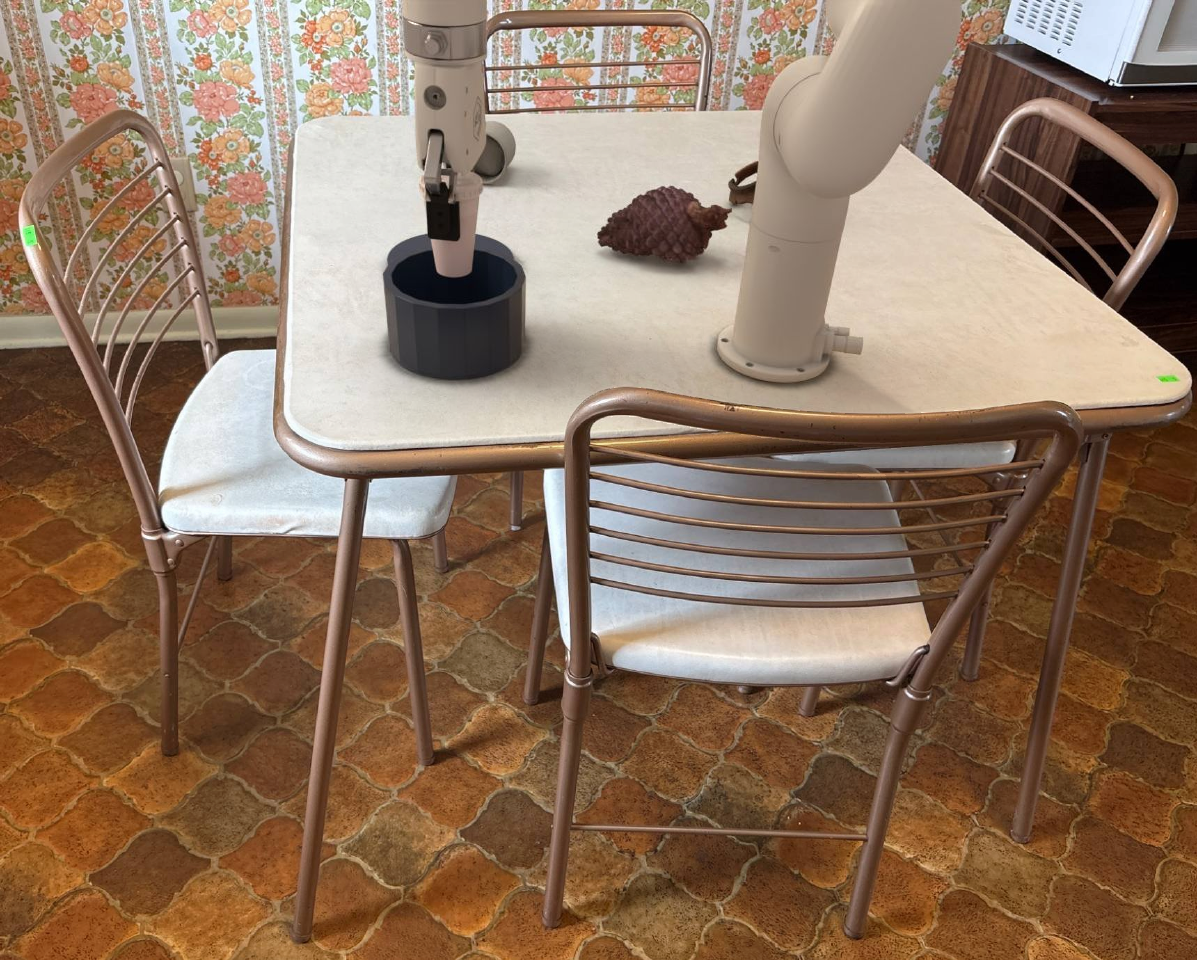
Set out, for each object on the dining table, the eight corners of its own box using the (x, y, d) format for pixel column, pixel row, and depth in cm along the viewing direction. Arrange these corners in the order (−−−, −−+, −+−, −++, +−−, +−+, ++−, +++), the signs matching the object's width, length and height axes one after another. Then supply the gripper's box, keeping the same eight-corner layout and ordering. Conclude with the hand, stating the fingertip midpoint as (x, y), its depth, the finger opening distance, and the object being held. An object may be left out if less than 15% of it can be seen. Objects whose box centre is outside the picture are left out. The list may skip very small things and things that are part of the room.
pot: (534, 319, 115) (535, 251, 110) (511, 387, 103) (510, 315, 98) (409, 306, 116) (404, 238, 111) (372, 373, 104) (365, 300, 99)
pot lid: (523, 245, 131) (524, 201, 127) (501, 301, 118) (500, 253, 114) (406, 234, 132) (403, 189, 128) (371, 288, 119) (367, 240, 115)
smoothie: (474, 287, 101) (470, 151, 93) (414, 278, 102) (405, 142, 93) (492, 260, 106) (490, 129, 98) (435, 252, 107) (428, 122, 98)
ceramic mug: (518, 167, 153) (517, 116, 148) (507, 187, 146) (506, 134, 141) (451, 161, 153) (448, 111, 149) (437, 181, 147) (434, 128, 142)
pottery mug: (791, 233, 139) (770, 183, 135) (733, 245, 145) (711, 197, 141) (817, 186, 146) (797, 136, 141) (760, 198, 152) (739, 152, 147)
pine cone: (597, 273, 125) (585, 193, 124) (609, 278, 135) (598, 204, 134) (736, 249, 122) (725, 167, 121) (739, 256, 132) (729, 180, 131)
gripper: (465, 68, 83) (470, 265, 94) (504, 19, 97) (504, 196, 108) (378, 60, 83) (393, 257, 94) (428, 12, 97) (436, 189, 108)
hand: (452, 223), depth 101 cm, fingers closed on smoothie, 6 cm apart
